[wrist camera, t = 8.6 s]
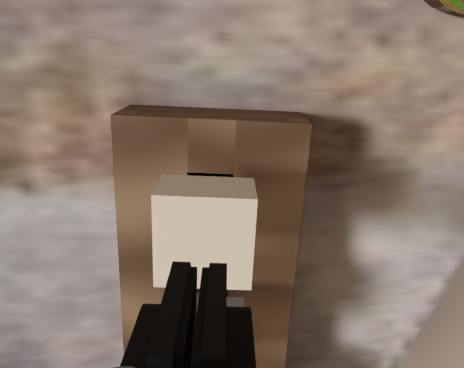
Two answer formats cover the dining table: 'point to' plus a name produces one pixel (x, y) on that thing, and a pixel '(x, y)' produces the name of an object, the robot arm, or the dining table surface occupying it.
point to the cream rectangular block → (204, 226)
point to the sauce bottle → (448, 6)
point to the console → (218, 162)
